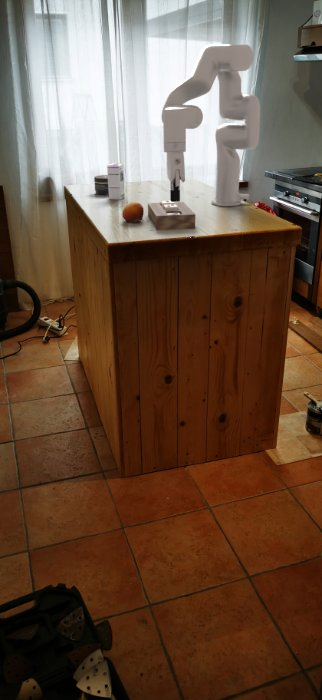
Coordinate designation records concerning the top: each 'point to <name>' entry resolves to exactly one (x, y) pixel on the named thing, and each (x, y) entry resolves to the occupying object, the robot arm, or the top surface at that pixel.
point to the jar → (101, 184)
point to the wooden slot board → (171, 217)
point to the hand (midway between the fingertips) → (175, 201)
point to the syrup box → (115, 181)
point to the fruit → (133, 212)
